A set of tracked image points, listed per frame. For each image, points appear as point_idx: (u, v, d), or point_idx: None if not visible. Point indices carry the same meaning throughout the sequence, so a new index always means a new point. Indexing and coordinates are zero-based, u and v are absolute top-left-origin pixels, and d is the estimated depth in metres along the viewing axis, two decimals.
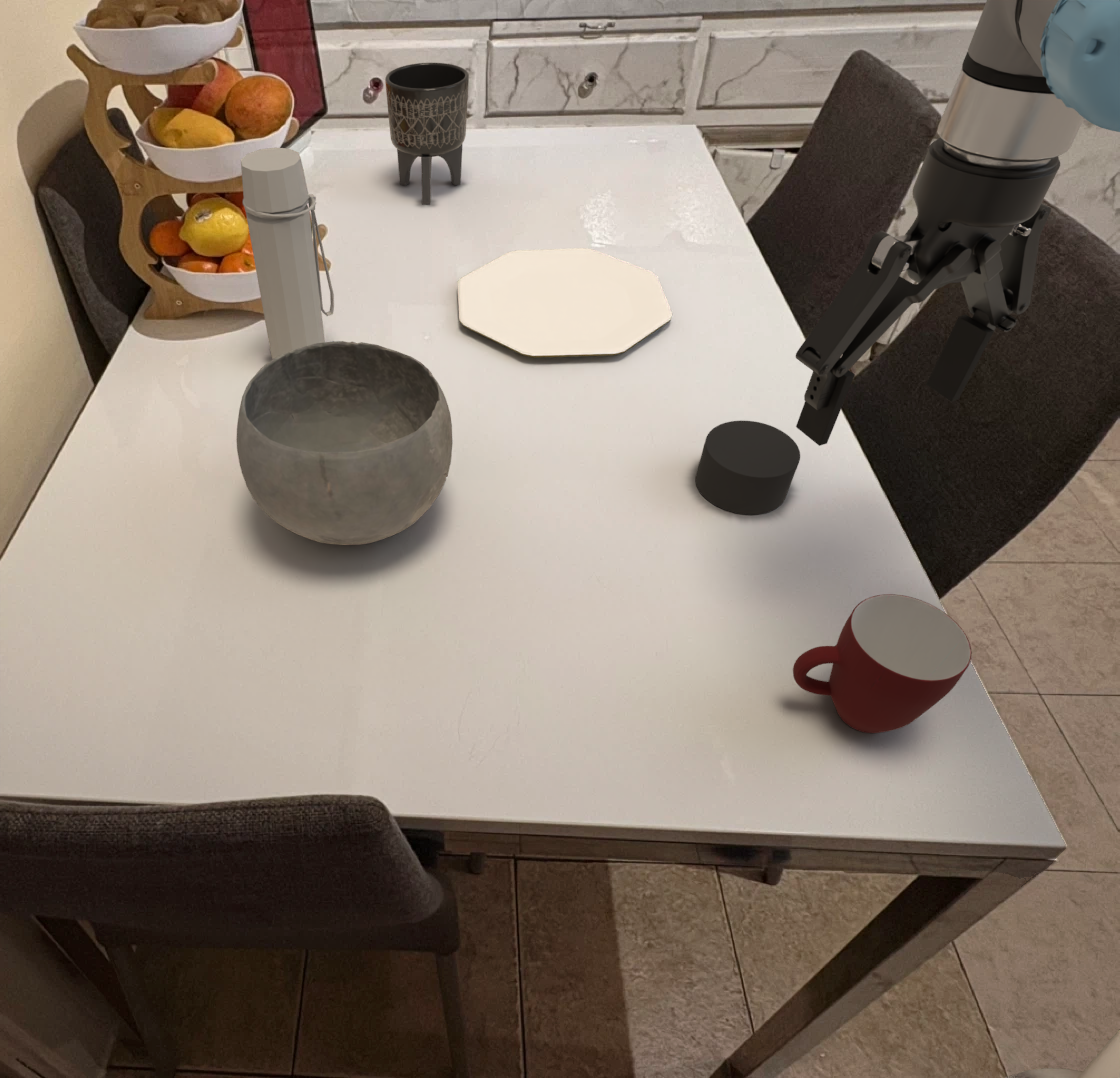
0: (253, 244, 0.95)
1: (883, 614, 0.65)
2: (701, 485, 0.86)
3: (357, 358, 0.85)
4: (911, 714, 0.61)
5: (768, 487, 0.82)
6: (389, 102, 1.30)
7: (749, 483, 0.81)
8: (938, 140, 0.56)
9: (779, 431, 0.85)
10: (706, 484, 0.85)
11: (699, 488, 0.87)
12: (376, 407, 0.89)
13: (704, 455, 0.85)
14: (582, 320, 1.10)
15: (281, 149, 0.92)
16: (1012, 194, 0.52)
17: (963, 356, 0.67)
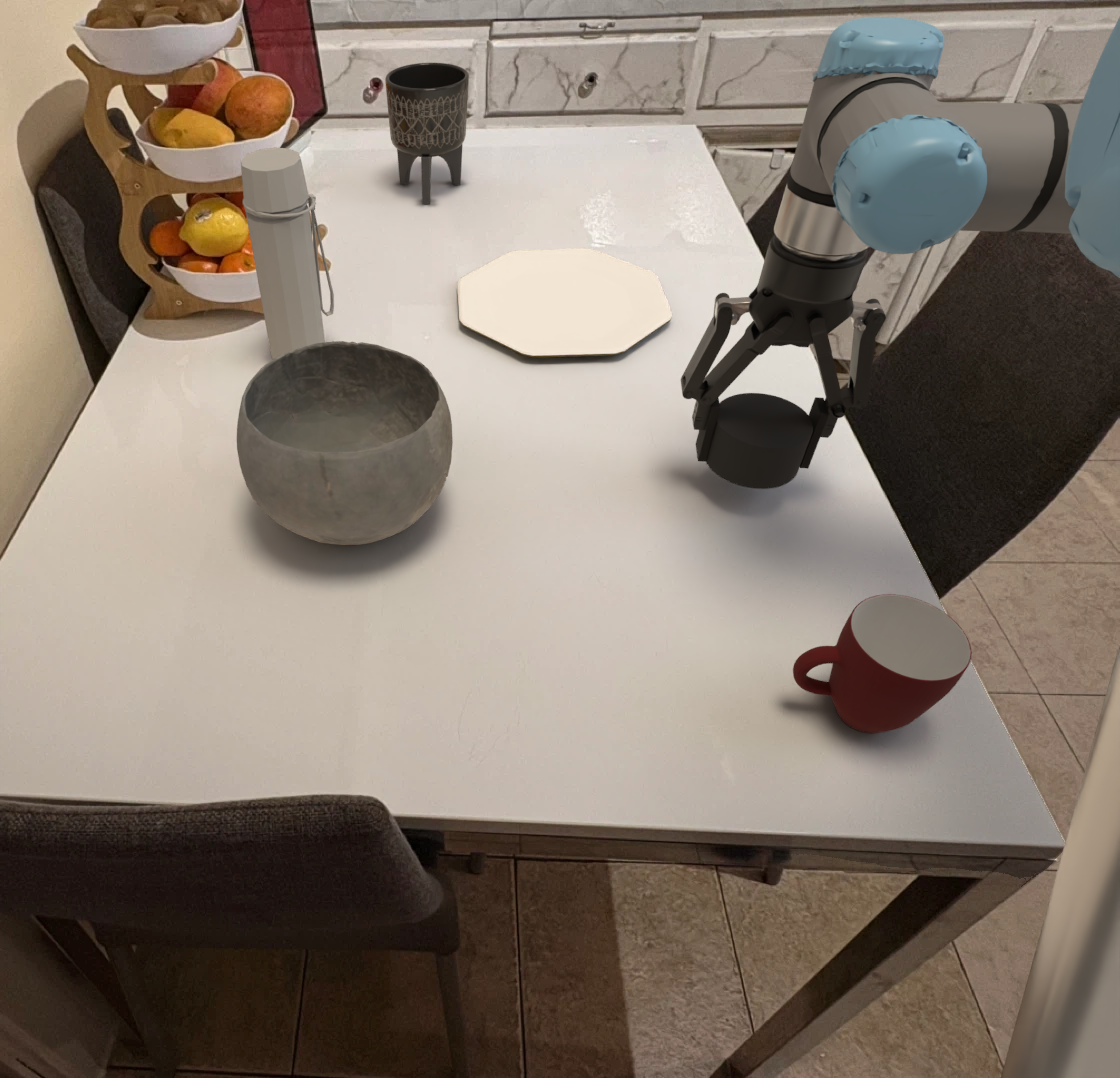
0: (253, 244, 0.95)
1: (883, 614, 0.65)
2: (710, 459, 0.83)
3: (357, 358, 0.85)
4: (911, 714, 0.61)
5: (780, 459, 0.78)
6: (389, 102, 1.30)
7: (760, 454, 0.78)
8: None
9: (791, 403, 0.82)
10: (716, 458, 0.82)
11: (708, 462, 0.84)
12: (376, 407, 0.89)
13: None
14: (582, 320, 1.10)
15: (281, 149, 0.92)
16: (801, 277, 0.67)
17: None
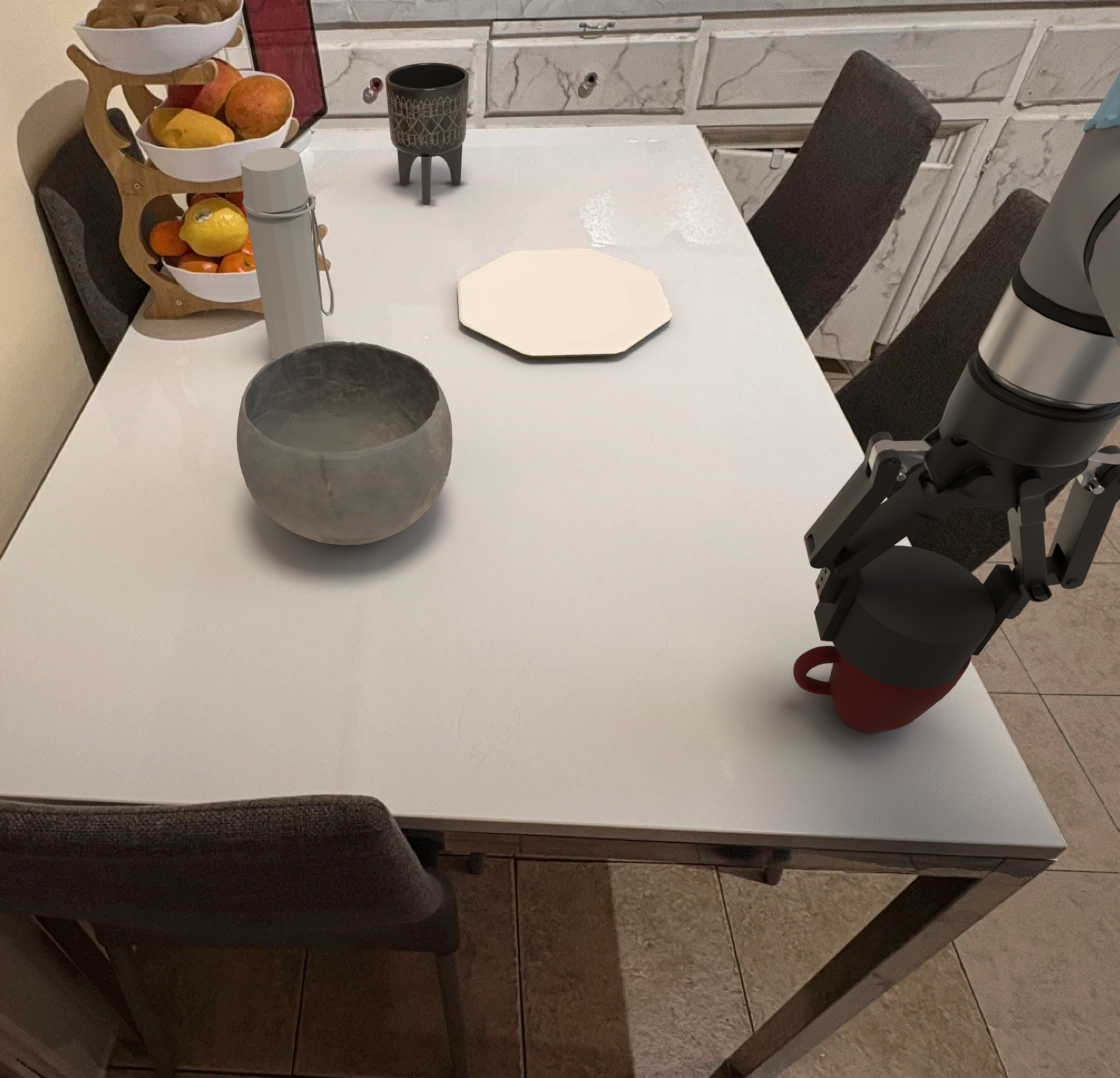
0: (253, 244, 0.95)
1: None
2: (840, 640, 0.59)
3: (357, 358, 0.85)
4: (911, 714, 0.61)
5: (950, 657, 0.55)
6: (389, 102, 1.30)
7: (923, 650, 0.55)
8: None
9: (955, 564, 0.59)
10: (850, 642, 0.58)
11: (835, 643, 0.60)
12: (376, 407, 0.89)
13: None
14: (582, 320, 1.10)
15: (281, 149, 0.92)
16: (1028, 430, 0.44)
17: None
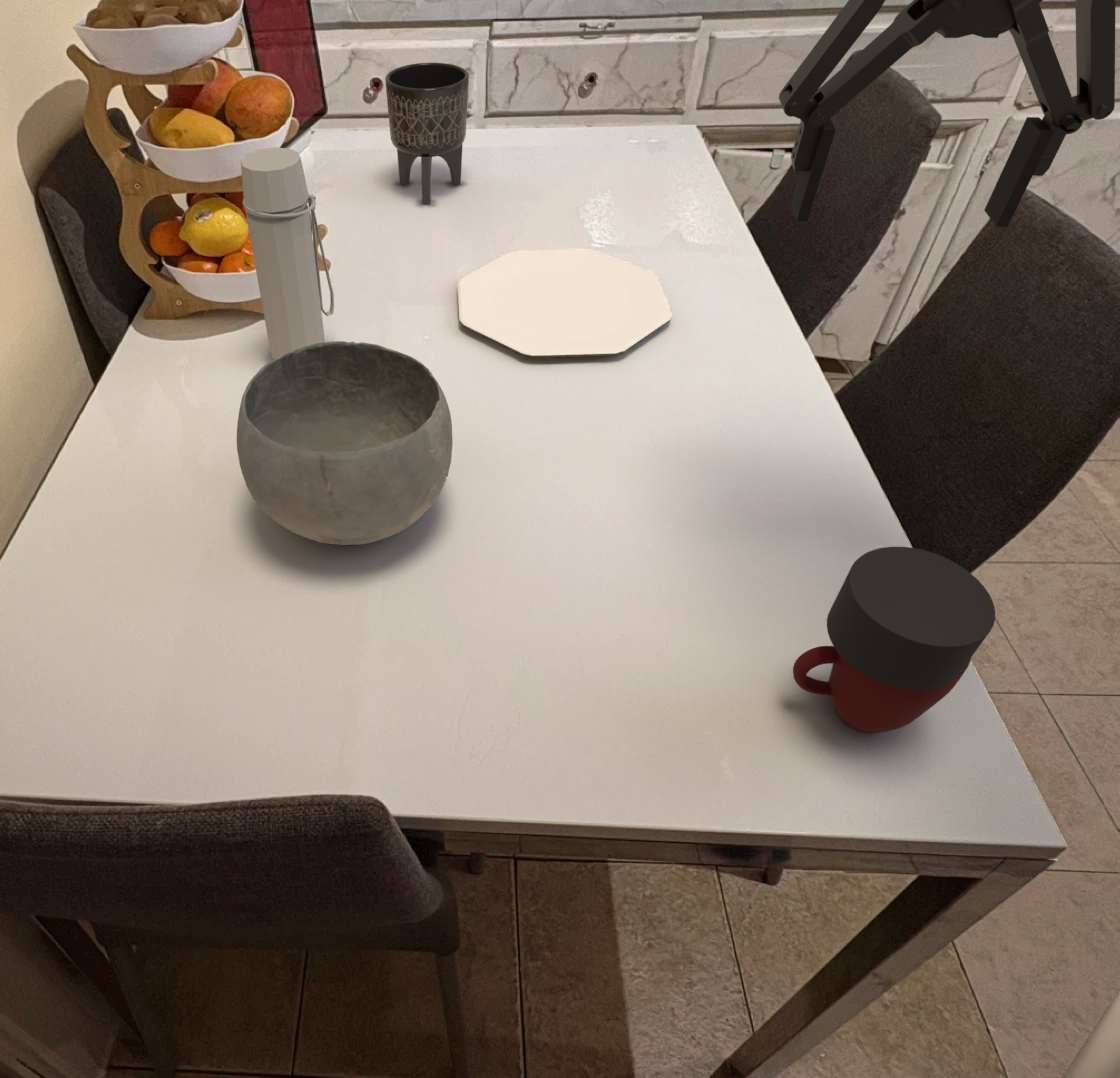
0: (253, 244, 0.95)
1: None
2: (839, 642, 0.59)
3: (357, 358, 0.85)
4: (911, 714, 0.61)
5: (950, 658, 0.55)
6: (389, 102, 1.30)
7: (923, 652, 0.55)
8: None
9: (955, 565, 0.59)
10: (850, 644, 0.58)
11: (835, 645, 0.60)
12: (376, 407, 0.89)
13: (847, 602, 0.58)
14: (582, 320, 1.10)
15: (281, 149, 0.92)
16: None
17: (1018, 166, 0.58)
